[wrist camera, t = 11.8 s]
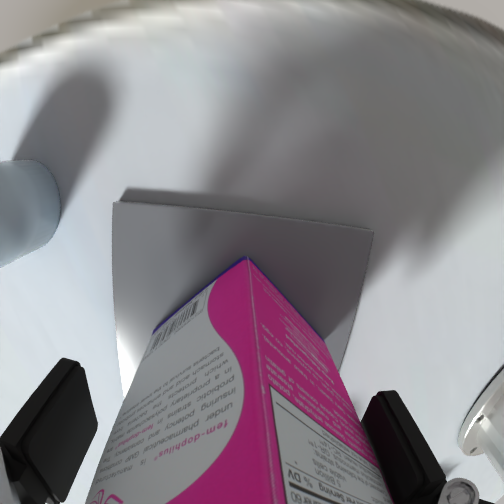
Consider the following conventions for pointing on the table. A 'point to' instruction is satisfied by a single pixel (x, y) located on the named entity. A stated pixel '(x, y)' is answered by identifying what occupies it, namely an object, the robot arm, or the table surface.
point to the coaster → (223, 256)
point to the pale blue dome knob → (26, 208)
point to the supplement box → (237, 410)
